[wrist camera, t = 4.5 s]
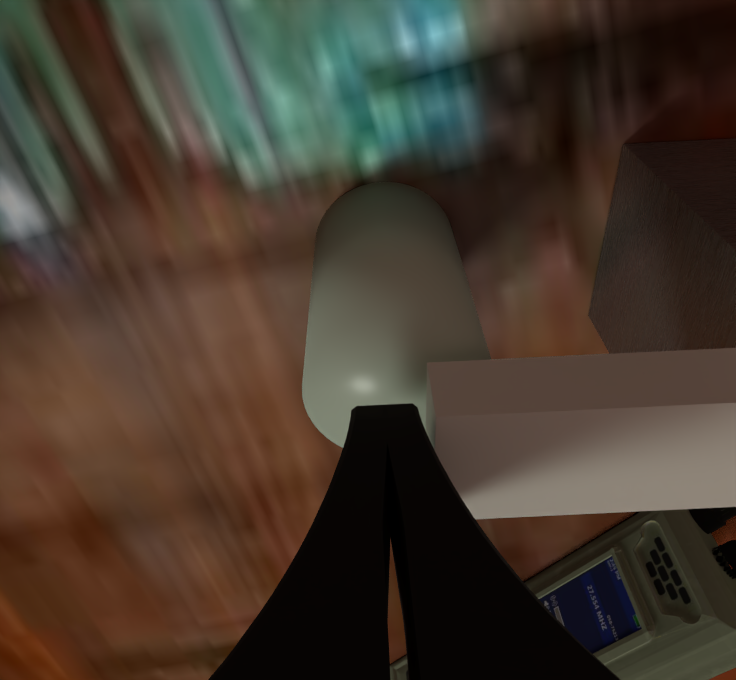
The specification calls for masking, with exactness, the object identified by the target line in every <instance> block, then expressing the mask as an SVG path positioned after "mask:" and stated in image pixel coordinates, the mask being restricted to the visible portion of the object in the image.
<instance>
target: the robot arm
mask: <svg viewBox="0 0 736 680" xmlns="http://www.w3.org/2000/svg"><path fill="white" fill-rule="evenodd" d="M390 537H391V544H392V550H393V557H394V563H395V569H396V576H397V582H398V589H399V595H400V601H401V608H402V614H403V621H404V630H405V638H406V650H407V665H408V680H621V679H619V678H618V677H617V676H616V675H615V674H614V673H613V672H612V671H611V670H609V669H608V668H607V667H606V666H605V665H604V664H603V663H602V662H601V661H600V660H598V659H597V658H596V657H595V656H594V655H593V654H592V653H591V652H590V651H589V650H588V649H587V648H586V647H585V646H584V645H582V644H581V643H580V642H579V641H578V640H577V639H576V638H575V637H574V636H573V635H572V634H571V633H570V632H569V631H568V630H567V629H566V628H565V627H564V626H563V625H562V624H561V623H560V622H559V621H558V620H557V619H556V617H555V616H554V615H553V614H552V613H551V612H550V611H549V610H548V609H547V608H546V606H545V605H544V604H543V603H542V602H541V601H540V600H539V599H538V598H537V597H536V595H535V594H534V593H533V592H532V591H531V590H530V589H529V588H528V587H527V586H526V584H525V583H524V582H523V581H522V580H521V579H520V578H519V576H518V575H517V574H516V573H515V572H514V570H513V569H512V568H511V567H510V565H509V564H508V563H507V562H506V560H505V559H504V558H503V557H502V556H501V554H500V553H499V552H498V550H497V549H496V548H495V546H494V545H493V544H492V542H491V541H490V540H489V538H488V537H487V536H486V534H485V533H484V531H483V530H482V529H481V527H480V526H479V524H478V523H477V521H476V520H475V518H474V517H473V515H472V514H471V512H470V511H469V509H468V508H467V506H466V505H465V503H464V502H463V500H462V498H461V497H460V495H459V494H458V492H457V490H456V489H455V487H454V485H453V483H452V482H451V480H450V478H449V476H448V475H447V473H446V471H445V469H444V467H443V466H442V464H441V462H440V460H439V458H438V456H437V454H436V452H435V450H434V448H433V446H432V444H431V442H430V440H429V437H428V435H427V433H426V431H425V428H424V426H423V423H422V420H421V417H420V414H419V411H418V407H416V406H415V405H414V404H413V403H408V404H387V405H366V406H356V407H355V408H353V409H352V410H351V417H350V423H349V428H348V432H347V436H346V440H345V443H344V447H343V450H342V453H341V456H340V459H339V462H338V465H337V467H336V470H335V473H334V475H333V478H332V481H331V483H330V486H329V488H328V491H327V493H326V495H325V497H324V500H323V502H322V504H321V506H320V508H319V511H318V513H317V515H316V517H315V519H314V522H313V524H312V526H311V528H310V530H309V532H308V534H307V536H306V537H305V539H304V541H303V543H302V545H301V547H300V549H299V550H298V552H297V554H296V556H295V558H294V559H293V561H292V563H291V565H290V566H289V568H288V570H287V571H286V573H285V574H284V576H283V578H282V579H281V581H280V583H279V584H278V586H277V587H276V589H275V591H274V592H273V594H272V595H271V597H270V598H269V600H268V601H267V603H266V604H265V606H264V607H263V609H262V610H261V612H260V613H259V614H258V616H257V617H256V619H255V620H254V621H253V623H252V624H251V625H250V627H249V628H248V630H247V631H246V632H245V634H244V635H243V636H242V638H241V639H240V641H239V642H238V643H237V645H236V646H235V647H234V649H233V650H232V651H231V653H230V654H229V655H228V656H227V658H226V659H225V660H224V662H223V663H222V664H221V665H220V666H219V668H218V669H217V670H216V671H215V672H214V674H213V675H212V676H211V677H210V678H209V680H391V679H390V661H389V642H388V624H387V618H388V590H389V561H390Z"/></svg>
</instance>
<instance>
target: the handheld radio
mask: <svg viewBox="0 0 736 680" xmlns="http://www.w3.org/2000/svg"><path fill="white" fill-rule="evenodd" d="M735 515H736V507H721V508H700V509H679V510H657V511H641V512H639V513H637V514H636V515H634V516H633V517H631V518H629V519H628V520H626V521H624V522H623V523H621V524H619V525H618V526H616V527H615V528H613V529H611V530H610V531H608V532H606V533H605V534H603V535H601V536H600V537H598V538H597V539H595V540H593V541H592V542H590V543H588V544H587V545H585V546H583V547H582V548H580V549H579V550H577V551H575V552H574V553H572V554H570V555H569V556H567V557H566V558H564V559H562V560H561V561H559V562H557V563H556V564H554V565H552V566H551V567H549V568H548V569H546V570H544V571H543V572H541V573H539V574H538V575H536V576H534V577H533V578H531V579H530V580H528V581H526V582H525V584H526V586H527V587H528V588H529V589H530V590H531V591H532V592H533V593H534V594H535V595H536V597H537V598H538V599H539V600H540V601H541V602H542V603H543V604H544V605H545V606H546V608H547V609H548V610H549V611H550V612H551V613H552V614H553V615H554V616H555V617H556V619H557V620H558V621H559V622H560V623H561V624H562V625H563V626H564V627H565V628H566V629H567V630H568V631H569V632H570V633H571V634H572V635H573V636H574V637H575V638H576V639H577V640H578V641H579V642H580V643H581V644H582V645H584V646H585V647H586V648H587V649H588V650H589V651H590V652H591V653H592V654H593V655H594V656H595V657H596V658H597V659H598V660H600V661H601V662H602V663H603V664H604V665H605V666H606V667H607V668H608V669H609V670H611V671H612V672H613V673H614V674H615V675H616V676H617V677H618V678H619V679H621V680H708V679H710V678H713V677H715V676H717V675H719V674H722V673H724V672H726V671H728V670H731V669H733V668H735V667H736V540H731V541H728V542H726V543H725V544H723V545H717V543H716V541H715V539H714V538H713V536H712V534H711V533H712V532H714V531H715V530H717V529H719V528H721V527H722V526H724V525H726V522H725V521H726V520H728V519H730V518H732V517H734V516H735ZM719 547H720V548H719ZM729 564H730V565H731V567H730V566H729ZM731 568H732V569H731ZM390 679H391V680H408V665H407V655H405V656H404V657H402V658H401V659H399V660H397V661H396V662H394V663H392V664H391V665H390Z"/></svg>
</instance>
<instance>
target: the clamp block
mask: <svg viewBox="0 0 736 680" xmlns="http://www.w3.org/2000/svg"><path fill="white" fill-rule="evenodd" d="M588 316H589V318H590V319H591V321H592V323H593V325H594V327H595V328H596V330H597V332H598V334H599V336H600V337H601V339H602V341H603V343H604V345H605V346H606V348H607V350H608V352H609V354H615V353H636V352H657V351H677V350H698V349H719V348H736V138H735V139H714V140H694V141H674V142H654V143H634V144H623V148H622V153H621V158H620V163H619V168H618V173H617V178H616V183H615V187H614V192H613V197H612V202H611V207H610V212H609V217H608V222H607V227H606V232H605V237H604V242H603V247H602V251H601V256H600V261H599V266H598V271H597V276H596V281H595V286H594V291H593V296H592V301H591V306H590V311H589V315H588Z"/></svg>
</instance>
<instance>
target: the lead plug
mask: <svg viewBox="0 0 736 680" xmlns="http://www.w3.org/2000/svg"><path fill="white" fill-rule="evenodd" d="M471 360H491V357H490V354H489V351H488V347H487V344H486V341H485V337H484V334H483V331H482V327H481V324H480V321H479V318H478V314H477V311H476V308H475V304H474V301H473V298H472V294H471V291H470V288H469V284H468V281H467V278H466V274H465V271H464V268H463V264H462V261H461V258H460V254H459V251H458V248H457V245H456V241H455V238H454V235H453V231H452V228H451V225H450V222H449V219H448V218H447V216H446V214H445V212H444V211H443V209H442V208H441V206H440V205H439V204H438V203H437V202H436V201H435V200H434V199H433V198H432V197H430V196H429V195H428V194H426V193H425V192H423V191H421V190H419V189H417V188H415V187H412V186H410V185H406V184H402V183H396V182H376V183H370V184H366V185H363V186H360V187H357V188H355V189H353V190H351V191H349V192H347V193H345V194H344V195H343V196H341V197H340V198H338V199H337V200H336V201H335V202H334V203H333V204H332V205H331V206H330V207H329V209H328V210H327V211H326V213H325V214H324V216H323V218H322V219H321V222H320V224H319V226H318V230H317V233H316V240H315V250H314V261H313V272H312V283H311V294H310V305H309V316H308V327H307V338H306V349H305V360H304V371H303V382H302V397H303V401H304V406H305V409H306V411H307V413H308V416H309V417H310V419H311V421H312V422H313V424H314V425H315V426H316V427H317V429H318V430H319V431H320V432H321V433H322V434H323V435H324V436H326V437H327V438H328V439H329V440H331V441H332V442H334V443H335V444H337V445H339V446H340V447H342V448H343V447H344V443H345V440H346V436H347V432H348V428H349V423H350V417H351V410H352V409H353V408H355V407H356V406H366V405H387V404H408V403H413V404H414V405H415V406H416V407H418V411H419V414H420V417H421V420H422V423H423V426H424V428H425V431H426V387H427V363H429V362H450V361H471Z"/></svg>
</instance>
